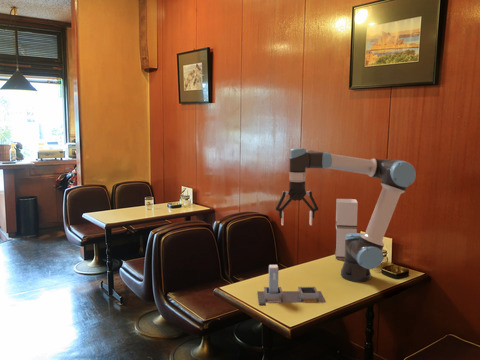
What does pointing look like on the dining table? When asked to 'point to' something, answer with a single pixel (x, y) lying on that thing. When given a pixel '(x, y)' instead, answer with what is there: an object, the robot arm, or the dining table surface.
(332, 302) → the dining table surface
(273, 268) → the plug
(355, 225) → the white rectangular tower
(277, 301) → the panel
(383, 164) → the robot arm
